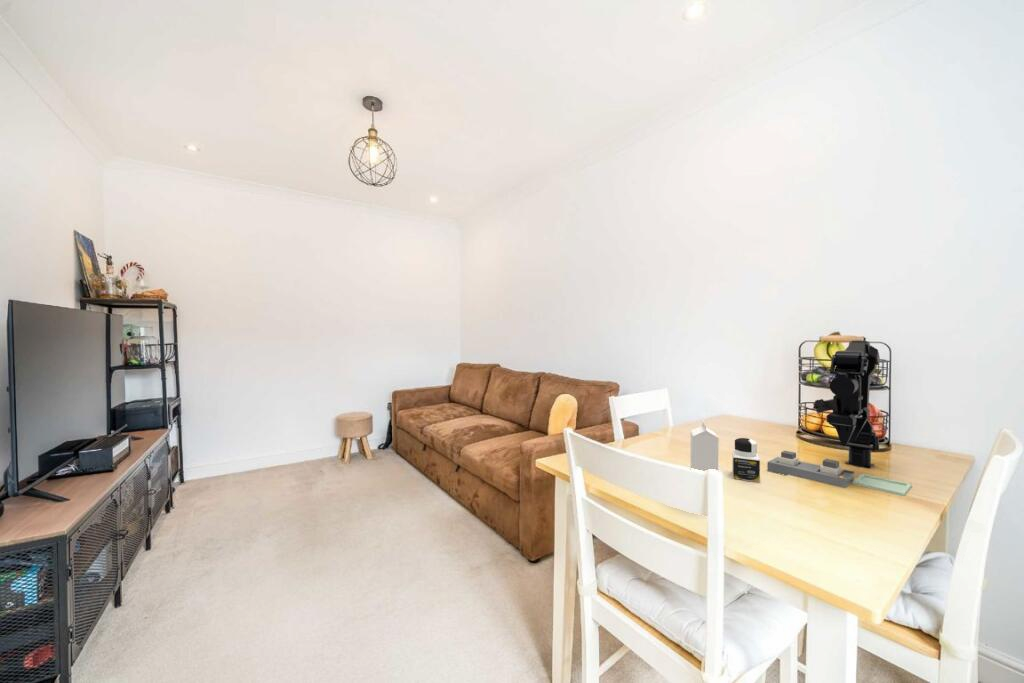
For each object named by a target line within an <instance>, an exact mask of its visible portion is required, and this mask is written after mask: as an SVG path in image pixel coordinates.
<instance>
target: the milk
mask: <svg viewBox="0 0 1024 683" xmlns="http://www.w3.org/2000/svg"><path fill="white" fill-rule="evenodd" d="M719 448H720V447H719V436H718V435H717V434H716V432H715V431H713V430H711V429H709V428H708V427H707V424H706V423H705V421H704V420H703V419H702V420H701V425H699V426H698V427H696V428H694V429H692V430H690V469H691V468H694V469H698V470H703V471H705V470H708V469H716V470H718V471H719V450H720V449H719Z"/></svg>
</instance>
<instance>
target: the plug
mask: <svg viewBox="0 0 1024 683" xmlns="http://www.w3.org/2000/svg"><path fill="white" fill-rule="evenodd" d="M842 467H843V466H840V461H839V460H833V459H830V458H825V459H823V460H822V464H821V465H820V472H821V473H826V474H830V475H835V476H841V475H842V470H843V468H842Z"/></svg>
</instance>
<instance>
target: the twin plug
mask: <svg viewBox="0 0 1024 683" xmlns="http://www.w3.org/2000/svg"><path fill="white" fill-rule="evenodd" d="M778 457H779V463H781V464H786V465H790V466H795V467H796V466H798V461H799V457H798V456H797V452H794V451H789V450H782V451H781V452H780V456H778Z"/></svg>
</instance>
